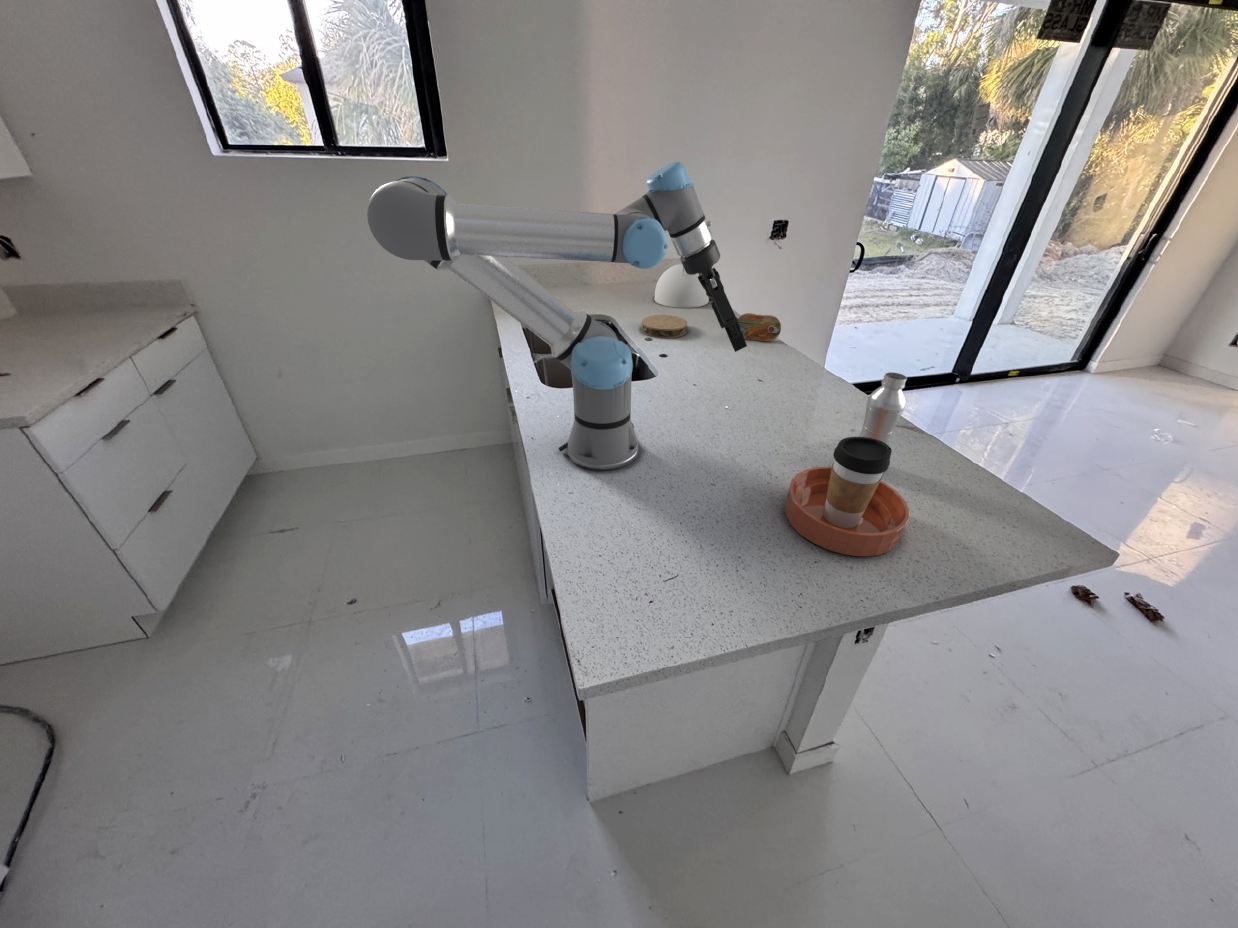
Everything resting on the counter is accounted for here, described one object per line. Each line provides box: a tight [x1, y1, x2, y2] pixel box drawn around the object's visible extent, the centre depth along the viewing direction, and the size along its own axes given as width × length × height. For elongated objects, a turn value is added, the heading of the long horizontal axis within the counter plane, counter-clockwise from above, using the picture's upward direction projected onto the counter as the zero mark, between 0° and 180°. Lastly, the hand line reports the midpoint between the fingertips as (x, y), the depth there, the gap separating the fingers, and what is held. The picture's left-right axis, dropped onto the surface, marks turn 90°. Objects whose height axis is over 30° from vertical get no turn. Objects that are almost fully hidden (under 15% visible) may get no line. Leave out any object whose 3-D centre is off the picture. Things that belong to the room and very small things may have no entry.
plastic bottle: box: [858, 371, 908, 447], centre depth 96 cm, size 6×7×20 cm
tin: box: [737, 312, 782, 343], centre depth 162 cm, size 15×3×8 cm, turn 68°
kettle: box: [653, 263, 710, 309], centre depth 199 cm, size 25×23×22 cm
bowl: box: [784, 466, 910, 557], centre depth 85 cm, size 19×19×5 cm
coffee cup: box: [823, 436, 893, 528], centre depth 82 cm, size 8×8×15 cm
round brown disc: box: [641, 314, 688, 339], centre depth 171 cm, size 16×16×3 cm
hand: (733, 336), depth 109 cm, fingers open, 13 cm apart
